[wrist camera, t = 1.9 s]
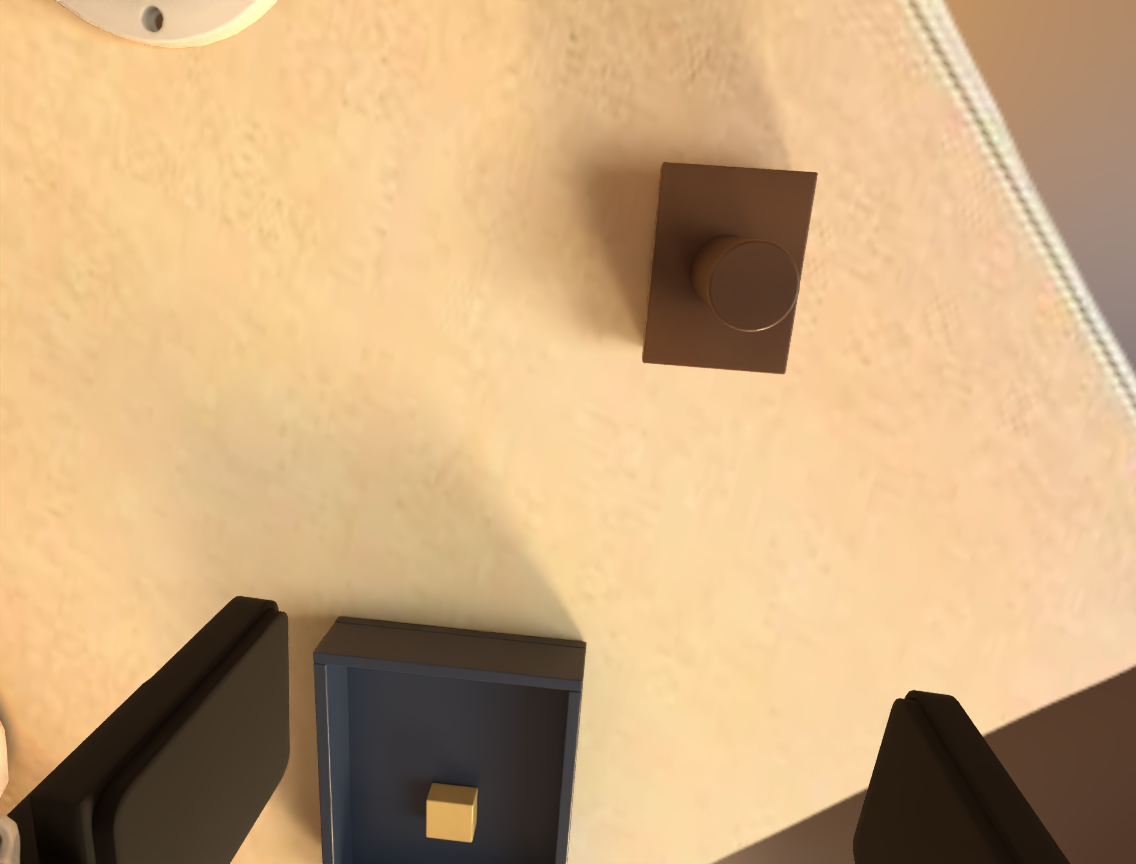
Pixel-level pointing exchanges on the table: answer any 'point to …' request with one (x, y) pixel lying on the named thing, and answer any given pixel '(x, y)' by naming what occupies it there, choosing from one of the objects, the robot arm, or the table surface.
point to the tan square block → (451, 812)
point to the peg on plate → (726, 266)
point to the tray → (445, 741)
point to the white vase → (3, 761)
